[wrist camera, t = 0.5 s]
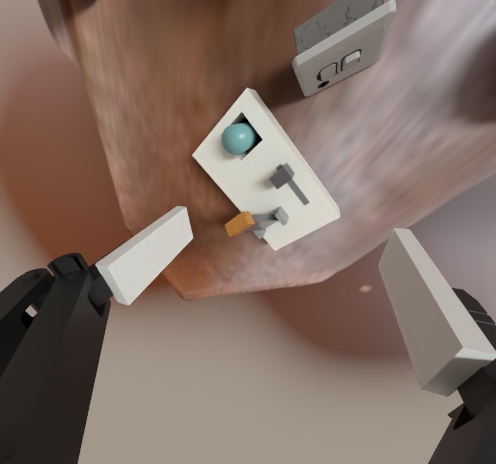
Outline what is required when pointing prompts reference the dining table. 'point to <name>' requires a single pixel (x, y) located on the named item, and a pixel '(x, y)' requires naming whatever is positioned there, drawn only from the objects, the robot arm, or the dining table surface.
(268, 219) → the lever
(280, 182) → the slider
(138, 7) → the dining table surface
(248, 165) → the panel
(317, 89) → the electrical switch
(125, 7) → the dining table surface
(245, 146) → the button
